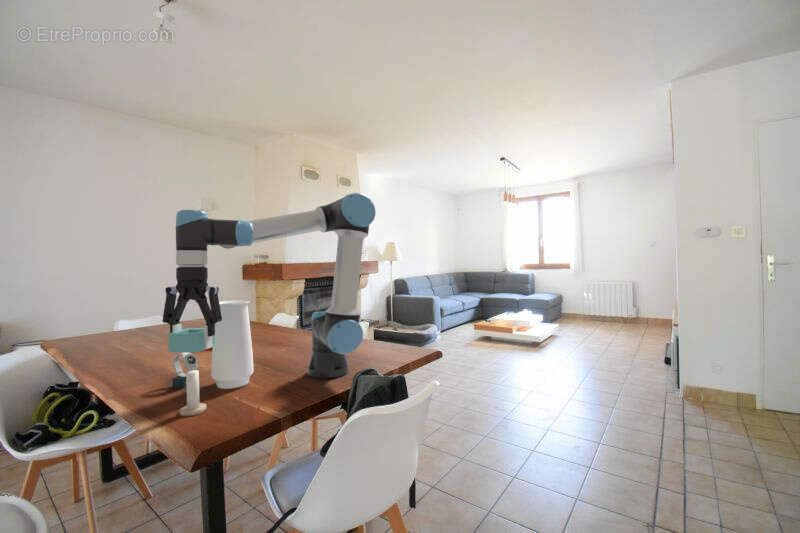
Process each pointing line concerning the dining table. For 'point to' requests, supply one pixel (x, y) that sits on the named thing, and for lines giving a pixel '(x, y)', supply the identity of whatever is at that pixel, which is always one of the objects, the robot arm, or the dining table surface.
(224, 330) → the vase
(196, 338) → the teal storage bin
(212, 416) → the dining table surface
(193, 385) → the post
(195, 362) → the watch
